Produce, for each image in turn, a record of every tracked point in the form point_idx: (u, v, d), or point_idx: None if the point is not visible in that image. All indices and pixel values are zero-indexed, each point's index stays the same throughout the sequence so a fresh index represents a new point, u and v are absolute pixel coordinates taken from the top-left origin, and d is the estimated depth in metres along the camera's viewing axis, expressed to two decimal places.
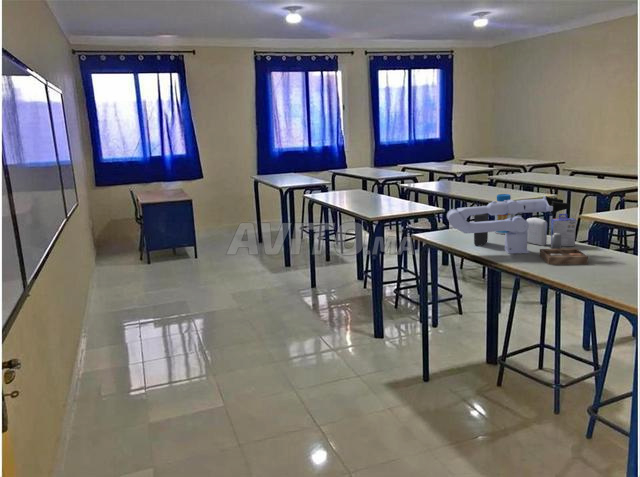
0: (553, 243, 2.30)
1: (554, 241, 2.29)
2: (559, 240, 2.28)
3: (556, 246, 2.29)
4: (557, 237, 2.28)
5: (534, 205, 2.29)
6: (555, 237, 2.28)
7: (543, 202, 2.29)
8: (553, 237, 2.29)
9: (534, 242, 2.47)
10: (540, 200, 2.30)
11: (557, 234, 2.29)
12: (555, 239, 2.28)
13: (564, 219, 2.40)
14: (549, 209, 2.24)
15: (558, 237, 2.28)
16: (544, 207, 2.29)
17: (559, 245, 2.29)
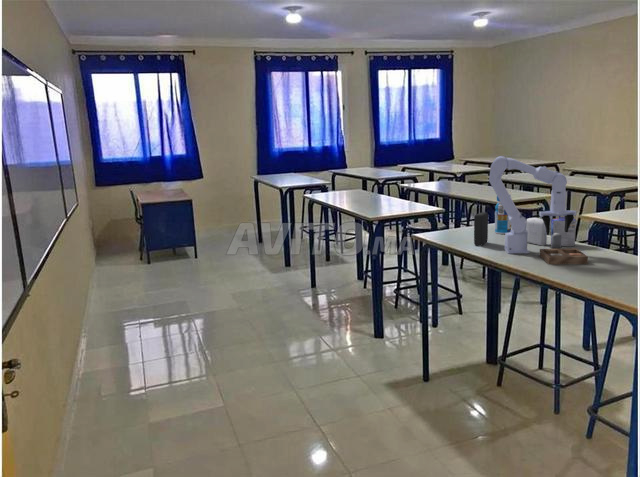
0: (553, 243, 2.30)
1: (554, 241, 2.29)
2: (559, 240, 2.28)
3: (556, 246, 2.29)
4: (557, 237, 2.28)
5: (552, 201, 2.26)
6: (555, 237, 2.28)
7: (553, 210, 2.26)
8: (553, 237, 2.29)
9: (534, 242, 2.47)
10: (556, 208, 2.25)
11: (557, 234, 2.29)
12: (555, 239, 2.28)
13: (564, 219, 2.40)
14: (540, 213, 2.29)
15: (558, 237, 2.28)
16: None
17: (559, 245, 2.29)
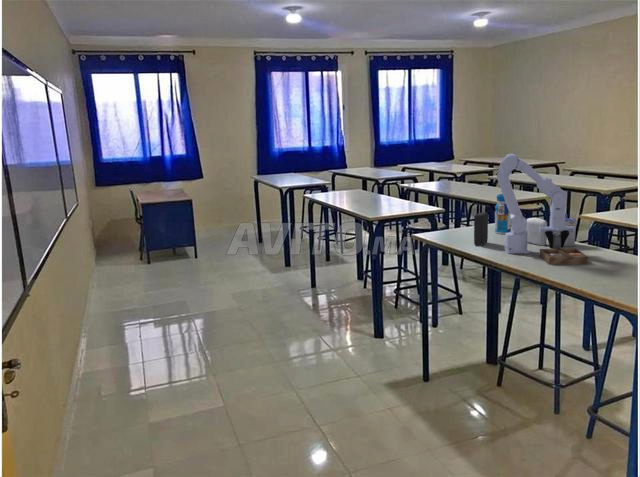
0: (553, 243, 2.30)
1: (554, 241, 2.29)
2: (559, 240, 2.28)
3: (556, 246, 2.29)
4: (557, 237, 2.28)
5: (551, 217, 2.28)
6: (555, 237, 2.28)
7: (553, 226, 2.27)
8: (553, 237, 2.29)
9: (534, 242, 2.47)
10: (556, 224, 2.26)
11: (557, 234, 2.29)
12: (555, 239, 2.28)
13: None
14: (539, 228, 2.30)
15: (558, 237, 2.28)
16: (550, 226, 2.30)
17: (559, 245, 2.29)
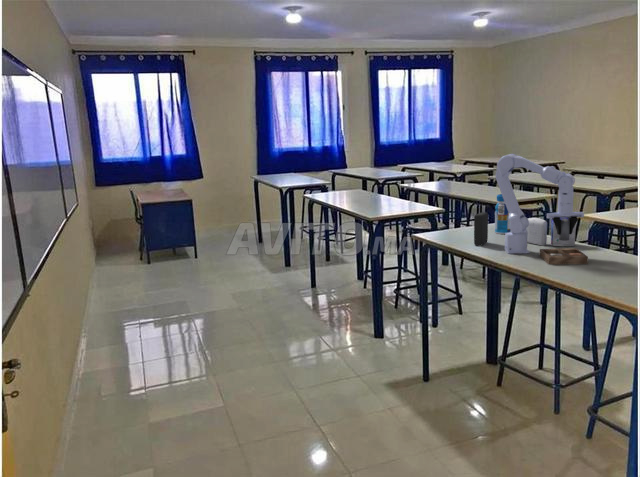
0: (561, 229, 2.23)
1: (562, 228, 2.23)
2: (567, 226, 2.22)
3: (564, 232, 2.23)
4: (565, 223, 2.22)
5: (559, 203, 2.21)
6: (563, 223, 2.22)
7: (561, 212, 2.21)
8: (561, 223, 2.23)
9: (534, 242, 2.47)
10: (564, 210, 2.20)
11: (565, 220, 2.22)
12: (563, 225, 2.22)
13: None
14: (547, 214, 2.24)
15: (566, 223, 2.22)
16: (557, 212, 2.23)
17: (567, 231, 2.23)
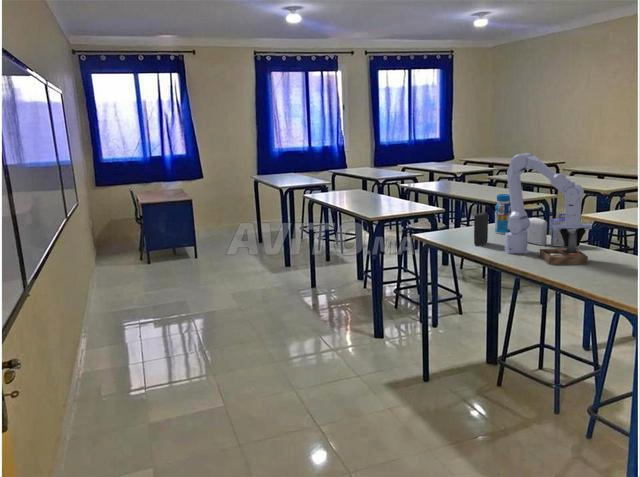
0: (568, 241, 2.19)
1: (569, 240, 2.19)
2: (575, 238, 2.18)
3: (572, 244, 2.19)
4: (573, 235, 2.18)
5: (566, 214, 2.17)
6: (570, 235, 2.18)
7: (568, 224, 2.17)
8: (568, 235, 2.19)
9: (534, 242, 2.47)
10: (571, 222, 2.16)
11: (573, 232, 2.18)
12: (571, 237, 2.18)
13: (564, 219, 2.40)
14: (554, 226, 2.20)
15: (574, 235, 2.18)
16: (565, 223, 2.19)
17: (575, 243, 2.19)
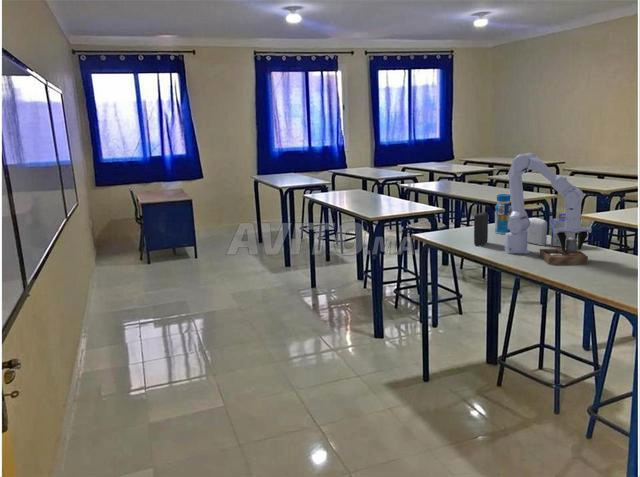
0: (568, 248, 2.20)
1: (569, 247, 2.20)
2: (574, 245, 2.19)
3: (571, 251, 2.19)
4: (572, 242, 2.18)
5: (566, 218, 2.18)
6: (570, 242, 2.19)
7: (568, 227, 2.17)
8: (568, 242, 2.19)
9: (534, 242, 2.47)
10: (571, 225, 2.16)
11: (572, 239, 2.19)
12: (570, 244, 2.19)
13: (564, 219, 2.40)
14: (553, 229, 2.20)
15: (573, 242, 2.18)
16: (565, 227, 2.20)
17: (574, 250, 2.19)
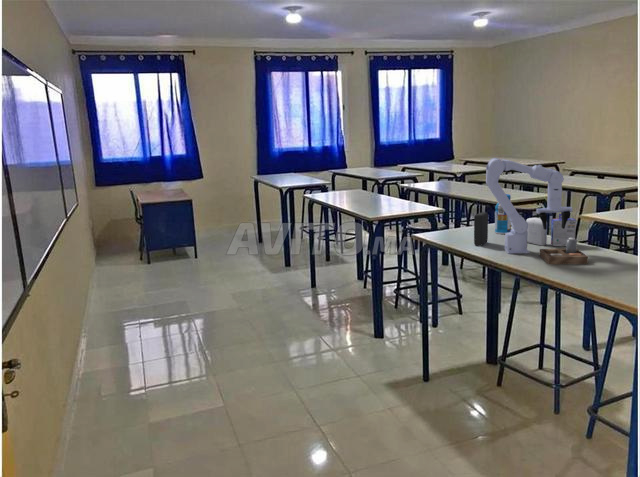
0: (568, 248, 2.20)
1: (569, 247, 2.19)
2: (574, 245, 2.19)
3: (571, 251, 2.19)
4: (572, 242, 2.18)
5: (548, 198, 2.29)
6: (570, 242, 2.19)
7: (550, 207, 2.28)
8: (568, 242, 2.19)
9: (534, 242, 2.47)
10: (553, 205, 2.27)
11: (572, 239, 2.19)
12: (570, 244, 2.19)
13: None
14: (537, 210, 2.31)
15: (573, 242, 2.18)
16: (547, 207, 2.31)
17: (574, 250, 2.19)
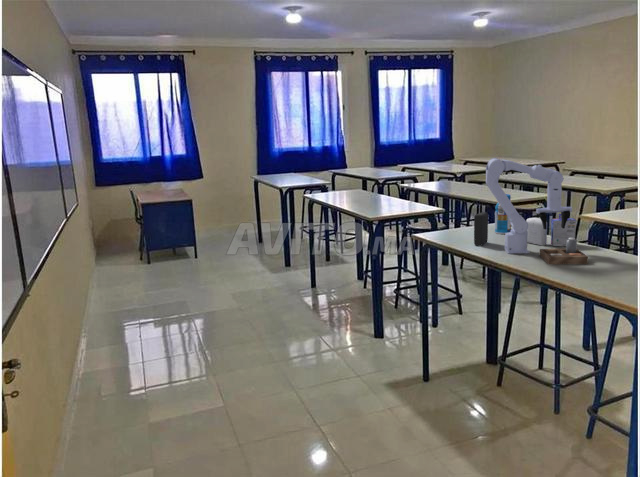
0: (568, 248, 2.20)
1: (569, 247, 2.20)
2: (574, 245, 2.19)
3: (571, 251, 2.19)
4: (572, 242, 2.18)
5: (548, 198, 2.29)
6: (570, 242, 2.19)
7: (550, 207, 2.29)
8: (568, 242, 2.19)
9: (534, 242, 2.47)
10: (553, 205, 2.27)
11: (572, 239, 2.19)
12: (570, 244, 2.19)
13: None
14: (536, 210, 2.32)
15: (573, 242, 2.18)
16: (547, 207, 2.31)
17: (574, 250, 2.19)
